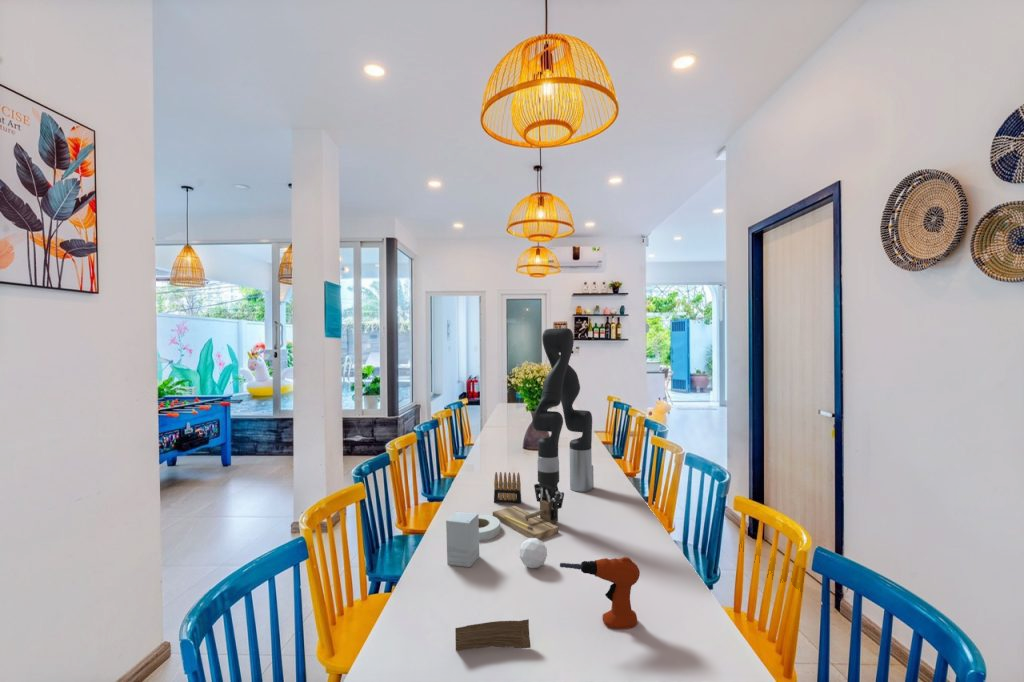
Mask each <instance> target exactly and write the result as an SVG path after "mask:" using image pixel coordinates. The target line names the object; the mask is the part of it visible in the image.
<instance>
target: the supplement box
mask: <svg viewBox="0 0 1024 682" xmlns="http://www.w3.org/2000/svg"><path fill="white" fill-rule="evenodd" d="M478 514H479V513H474V512H463V511H456V512H454V513H453V514H452V515H451V516H450V517H449V518H447V519H446V521H445V523H446V525H445V527H446V562H447V565H452V566H457V567H458V566H459V567H464V568H472V566H473V564H474V563H475V562H476V561H477V560H478V559H479V558H480V540H479V528H480V527H479V518H478Z"/></svg>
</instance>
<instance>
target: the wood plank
mask: <svg viewBox="0 0 1024 682" xmlns="http://www.w3.org/2000/svg"><path fill="white" fill-rule="evenodd" d="M529 622H530V620H529V619H522V620H500V621H497V620H496V621H489V622H481V623H475V624H469V625H465V626H459V627H455V628H454V629H455V631H454V632H455V651H456V652H458V651H465V650H473V649H483V648H492V647H494V648H511V647H512V648H515V649H531V639H530V638H531V637H530V623H529Z"/></svg>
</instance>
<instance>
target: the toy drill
mask: <svg viewBox="0 0 1024 682" xmlns="http://www.w3.org/2000/svg"><path fill="white" fill-rule="evenodd" d="M559 567H560V568H566V569H573V570H574V569H575V570H580V571H581V572H582V573H583V574H589V575H593V576H595V578H596V577H598V578H599V579H602V580H604V581H607V582H610V583H612V584H610V586H609V589H608V590H607V592H606V593H605V594H604V595H605V597H606V598H607V599H608V600H610V601H611V608H610V610H608V611H607V612H604V613H603V614H602V621H603V624H604V625H605V627H606V628H609V629H612V630H624V629H630V628H634V627H636V626H638V617H637V613H636V611H635V610H634V609H632V604H631V592H632V591H631V590H632V587H633V586H634V585H636V584H637V582H638V581H639V578H640V576H641V575H640V573H641V572H640V568H639V566H638V565H637V564H636V562H634V561H633V560H632V559H631V558H630V557H627V556H626V557H625V556H623V557H620V558H616V557H615V558H611V559H609V558H606V557H605V558H600V559H595V560H589V561H587V560H584V561H582V562H581V563H569V562H560V563H559Z"/></svg>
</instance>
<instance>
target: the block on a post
mask: <svg viewBox="0 0 1024 682" xmlns="http://www.w3.org/2000/svg"><path fill="white" fill-rule="evenodd" d="M553 499H554V498H552V499H551V500H553ZM554 504H555V502H553V506H554ZM530 513H531V514H527V515H525V519H526V521H528V519H529V518H533V517H536V516H537V517H539V518H541V519H543V520H545V521H547V522H549V523H551V524H554V523H557V522H558V521H559V509H557V519H556V520H553V521H552V520H551V507H550V503H549V502H548V498H547V499H544V500H540V502H539V510H538V511H535V512H530Z"/></svg>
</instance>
